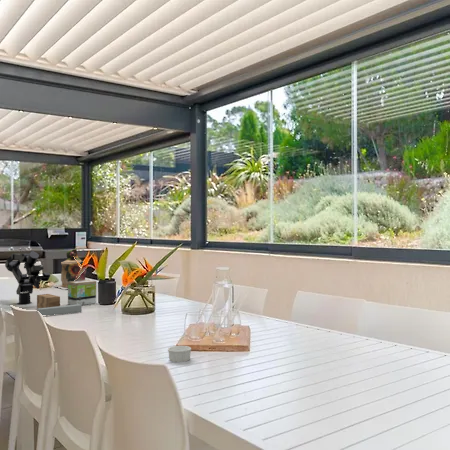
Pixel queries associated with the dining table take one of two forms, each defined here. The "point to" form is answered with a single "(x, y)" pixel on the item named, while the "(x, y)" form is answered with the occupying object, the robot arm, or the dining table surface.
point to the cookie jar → (70, 269)
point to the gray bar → (60, 309)
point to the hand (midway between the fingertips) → (38, 288)
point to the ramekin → (179, 353)
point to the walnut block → (47, 301)
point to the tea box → (81, 292)
